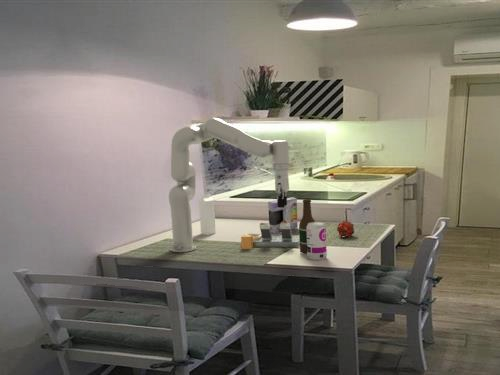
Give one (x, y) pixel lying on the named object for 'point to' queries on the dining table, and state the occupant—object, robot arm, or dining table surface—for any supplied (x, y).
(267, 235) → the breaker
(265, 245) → the breaker panel
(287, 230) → the block
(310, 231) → the supplement can
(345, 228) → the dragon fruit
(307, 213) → the beer bottle
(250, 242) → the orange rectangular block
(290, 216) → the cake pan box
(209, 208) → the milk
